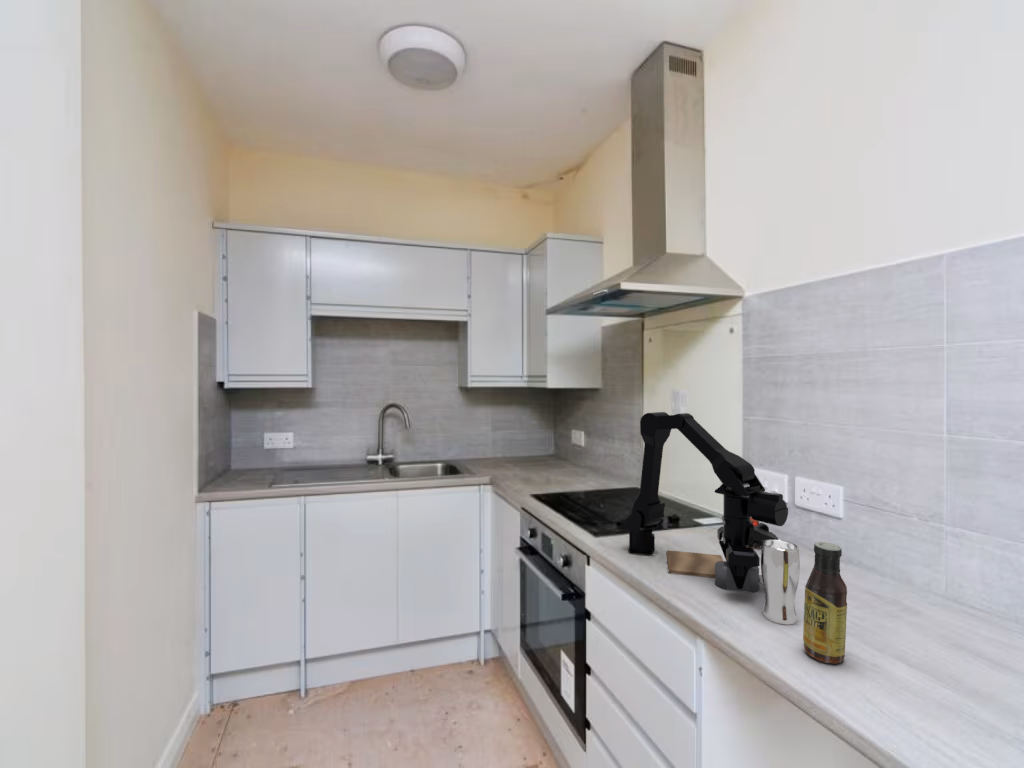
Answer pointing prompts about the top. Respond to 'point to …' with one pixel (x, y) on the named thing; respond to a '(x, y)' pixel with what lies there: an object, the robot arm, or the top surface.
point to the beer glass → (780, 580)
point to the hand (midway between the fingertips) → (736, 581)
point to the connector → (727, 582)
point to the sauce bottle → (825, 606)
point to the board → (692, 563)
